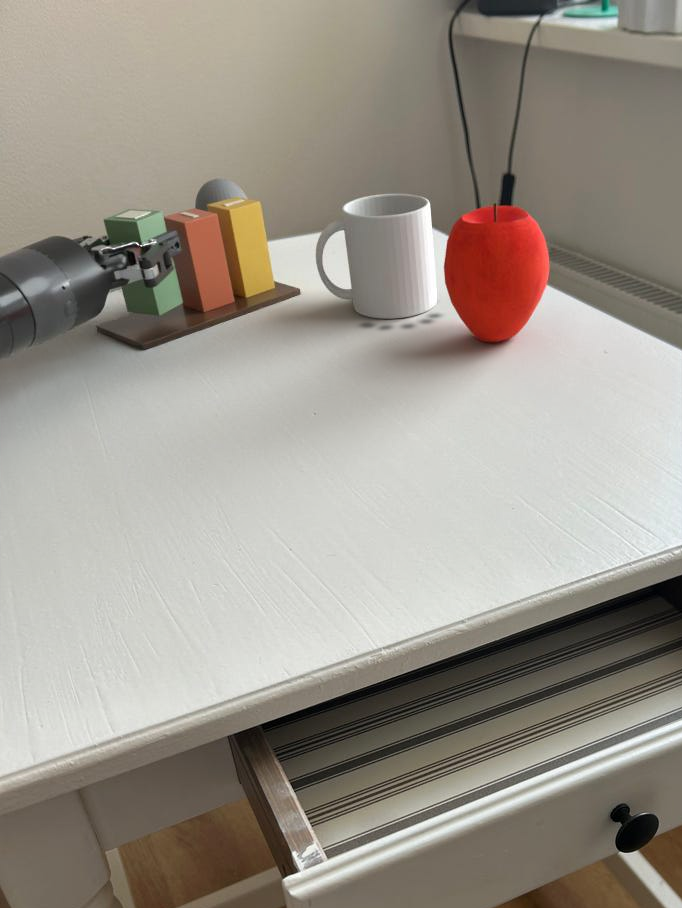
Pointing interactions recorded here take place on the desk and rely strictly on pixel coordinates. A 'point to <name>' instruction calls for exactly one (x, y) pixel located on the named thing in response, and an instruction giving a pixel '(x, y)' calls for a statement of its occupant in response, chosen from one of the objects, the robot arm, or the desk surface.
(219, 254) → the block
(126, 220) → the green rectangular block
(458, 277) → the apple
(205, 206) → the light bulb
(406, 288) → the mug
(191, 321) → the dark brown rectangular board
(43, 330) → the robot arm
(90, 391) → the desk surface
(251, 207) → the yellow slotted money box
